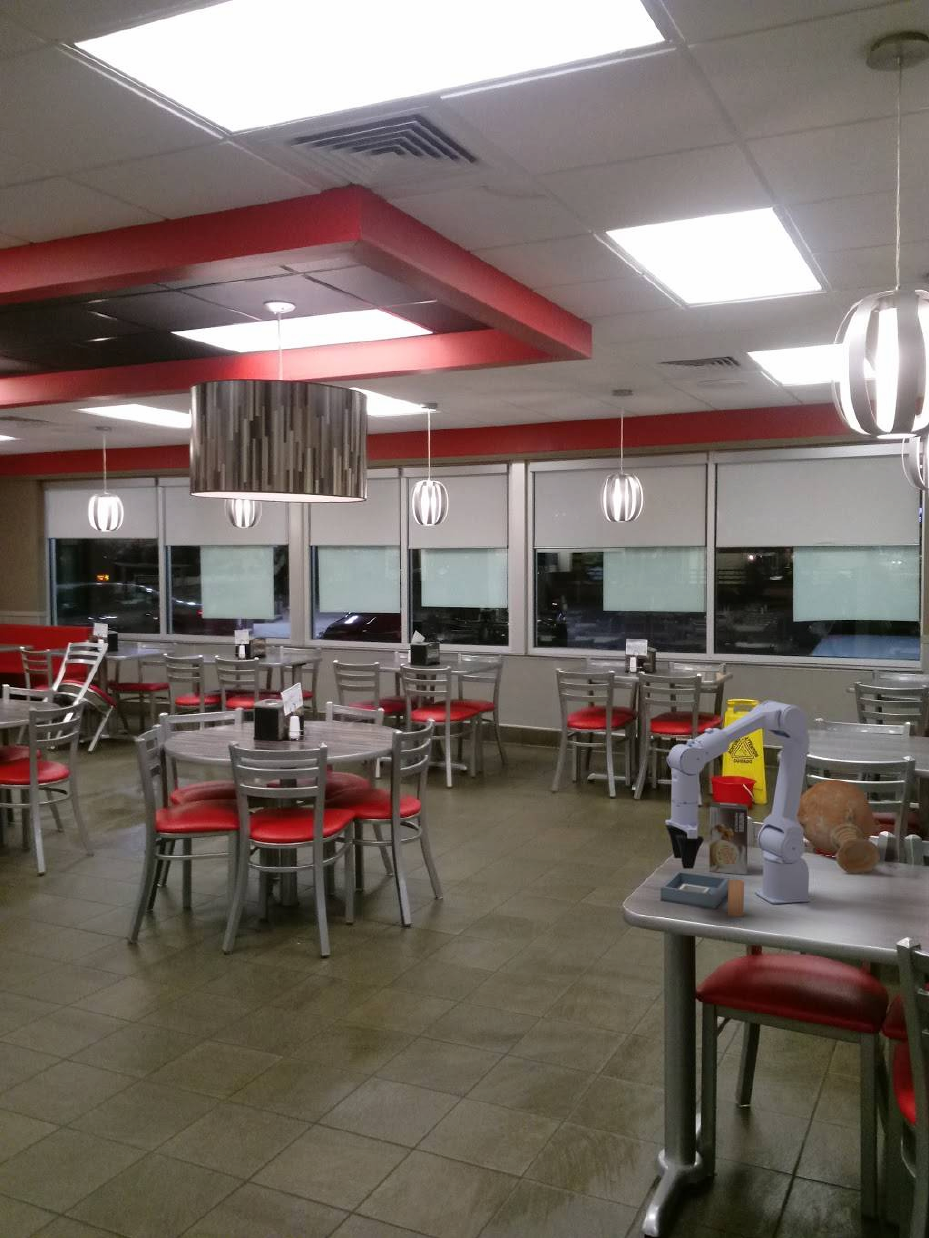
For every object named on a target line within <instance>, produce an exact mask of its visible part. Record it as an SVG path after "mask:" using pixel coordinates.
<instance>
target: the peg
mask: <svg viewBox="0 0 929 1238" xmlns="http://www.w3.org/2000/svg"><path fill="white" fill-rule="evenodd" d="M727 894H728V896H727V914H728V915H729V916H731V917H735V918H739V917H744V906H745V905H744V902H745V901H744V900H745V882H744V881H743V880H741V879H729V888H728V893H727Z"/></svg>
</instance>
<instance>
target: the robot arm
mask: <svg viewBox="0 0 929 1238" xmlns="http://www.w3.org/2000/svg"><path fill="white" fill-rule="evenodd" d="M808 720H809V716H808V715H807V713H806V712H805V711H804V710H803V709H802V708H801V707H800V706H798V705H796V704H788V703H783V702H779V701H775V700H772V699H769V700H765V701H763V702H762V703H759V704H757V705H755V706H754V707H753V709H752V710H750V711H749V712H747V713H746V714H744V715H743V716H741V717H740V718H738V719H736V720H735V721H733V722H732V723H730V724H729V725H726V727H724V728H723V729H720V728H716V727H714V728H711V727H708V728H705V730H704V733H702V734H700V735H699V736H697V737H695V738H693V739H692V738H690V739H688V740H687V741H686V744H683V743H678V744H676V745H674V746H673V747H672V748H671V750H670V751H669V754H668V755H667V756H666V763H667V764H668V766H669V768H670V771H671V772H670V773H671V790H670V791H671V796H670V797H671V798H670V799H671V801H670V802H671V805H670V809H671V811H670V819H665V823H664V824H665V828H666V830H667V832H668V835H669V838H670V843H671V847H672V852H673V853H672V854H673V857H674V859H681V865H682V867H683V869H685V870H686V869H687V870H688V869H689V870H690V869H691V870H692V869H694V868H695V864H696V859H697V855H698V852H699V850H700V847H701V846H702V844H703V842H704V839H705V838H704V837H703V836H698V835H699V833H698V832H699V831H698V828H699V825H700V822H699V787H700V786H699V781H700V780H699V779H700V778H699V777H700V773H701V772H702V771H703V770H704V767H705V765H706V764H707V763H709V762H711V761H712V760H714V759H716V758H717V757H719V756H721V755H723V754H725V753H727V752H728V751H729V750H730V747H731V746H730V744H732V743H734V742H735V741H738V740H739V739H742V738H744V737H746V736H748V735H750V734H752V733H754V732H757V731H759V730H768V731H769V732H771V733H772V734H774V735H775V737H776V738H777V739H778V741H779V742H780V743H781V745H782V747H781V754H780V760H779V767H778V773H777V778H776V786H775V791H774V797H773V803H772V808H771V809H772V810H771V813H770V814H768V816H766V817H765V818H764V819H763V823H762V826H761V828H760V830H759V832H758V833H757V841H756V842H757V845H758V847H759V848H760V849H761V851H762V854H761V855H762V856H763V862H762V863H763V865H762V866H763V867H762V889H761V890H754V894H756V895H757V896H759V897H761V899H764V900H765V901H767V902H768V903H770V904H773V905H774V904H775V905H776V904H778V905H779V904H788V903H792V904H793V903H802V902H804V903H808V902H811V898H809V886H810V884H809V883H810V871H809V866H808V864H807V862H806V860H805V859H804V858H803V857H802V856H803V855H804V853H805V848H806V847H805V842H804V836H803V832H804V830H803V828H802V826H801V825H800V823H799V821H798V819H797V816H798V810H799V803H800V798H801V797H802V790H803V785H804V784H803V782H804V778H805V772H806V765H807V759H808V754H809V753H808V752H809V748H810V735H809V730H808Z"/></svg>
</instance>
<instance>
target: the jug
mask: <svg viewBox="0 0 929 1238" xmlns="http://www.w3.org/2000/svg"><path fill="white" fill-rule="evenodd" d="M797 819H798V821H799V823H800V825H801V826H802V828H803V830H804V832H803V838H804V839H805V840H807V842H809V844H811V845H812V846H813V847H815V848H817V850H820V851H822V852H824V853H826V854H829V855H832V856H834V857H835V859H836V861H837V864H838V866H839V867H840V869H842V870H843V871H844V872H846V873H849V874H857V875H859V874H864V873H867V872H870V871H872V870H873V869H874V868H875V867H876V866H877V864H878V862H879V861H880V859H881V854H880V852H879V849H878V846H877V845H876V844H875V843H873V841H871V840H870V838H871V836H872V834H873V833H875V832H878V831H879V830H881V828H882V824H881V823H880V821H879V820H878V819H876V818H875V817H874V814H873V809H872V807H871V804H870V802H869V800H868V797H867V796H866V794H865V793H864V792H863V791H862V790H861V789H860V788H859V787H858V786H856V785H855V784H853V783H851V782H848V781H846V780H845V781H844V780H841V779H840V780H839V779H826V780H823V781H820V782H816V784H814V785H813V786H811V787H810V788H808V789H807V790H806V791H804V793H803V794H801V797H800V803H799V810H798V816H797Z"/></svg>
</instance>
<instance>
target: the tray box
mask: <svg viewBox="0 0 929 1238" xmlns="http://www.w3.org/2000/svg"><path fill="white" fill-rule="evenodd" d="M729 880H730V878H728V877H721V876H715V875H714V876H713V875H708V874H701V873H694V872H689V871H688V872H687V871H682V870H681V871H679V870H677V871H676V872H674V874H672V876H670V877H669V879H668V880H667V881H666V882H665V883H664V884H663V885H661V886H660V901H662V902H668V903H673V904H680V905H687V906H692V907H699V908H705V909H711V910H716V908H717V907H718V906H719V905H720V903H721V902H722V901H723V900H724V898H725V897H726V896H727V894H728V888H729Z"/></svg>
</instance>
